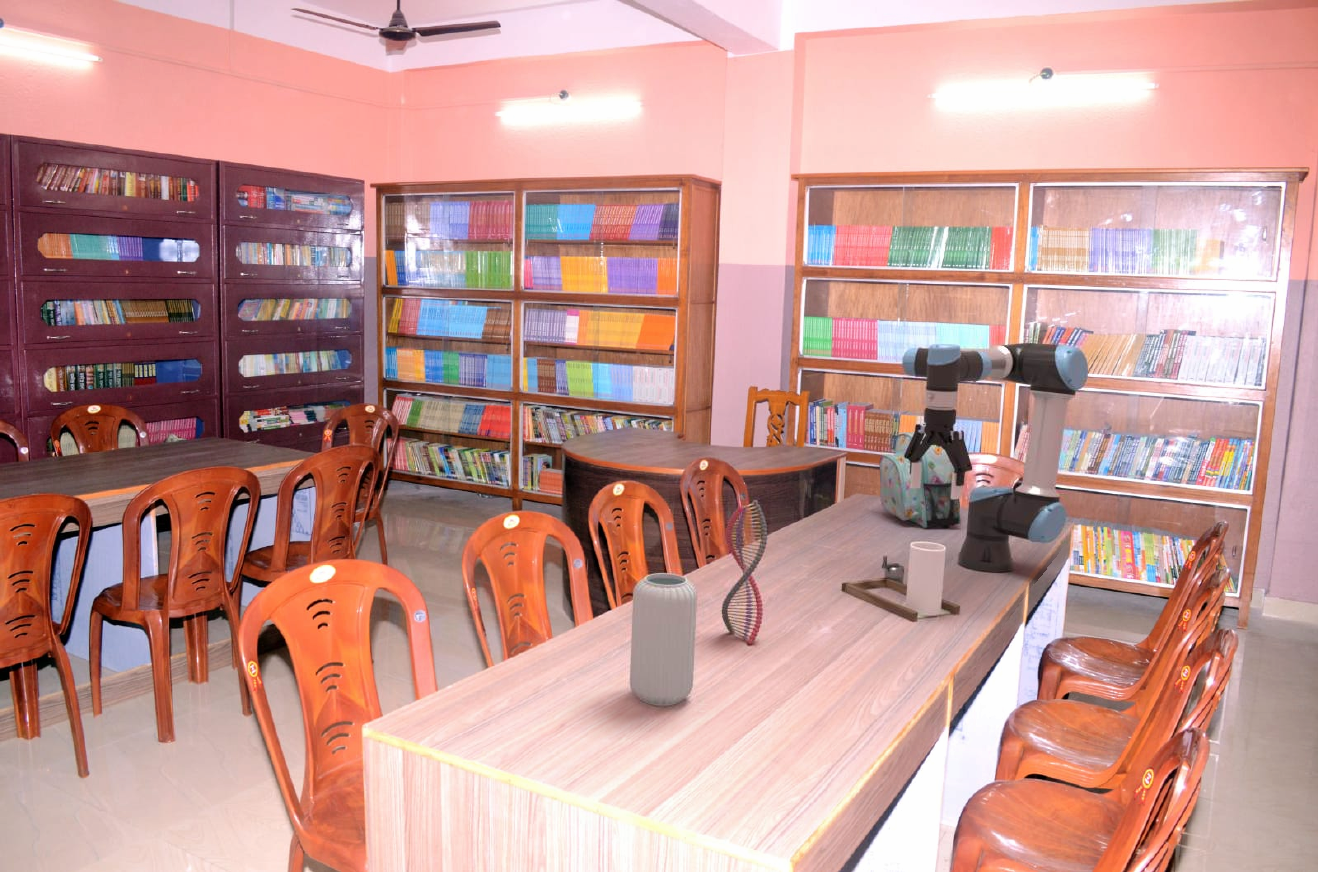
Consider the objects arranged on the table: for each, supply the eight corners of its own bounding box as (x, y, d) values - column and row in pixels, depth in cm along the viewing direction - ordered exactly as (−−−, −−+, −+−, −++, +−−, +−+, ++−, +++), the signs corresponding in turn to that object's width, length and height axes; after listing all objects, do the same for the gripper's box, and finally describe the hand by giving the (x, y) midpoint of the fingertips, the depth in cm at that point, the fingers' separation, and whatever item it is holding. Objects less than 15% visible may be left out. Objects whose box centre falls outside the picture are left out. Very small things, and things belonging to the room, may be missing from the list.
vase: (700, 707, 172) (706, 586, 169) (638, 712, 169) (643, 589, 166) (681, 682, 183) (686, 569, 180) (622, 687, 180) (626, 571, 177)
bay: (886, 584, 255) (886, 577, 255) (959, 613, 233) (960, 605, 232) (841, 590, 248) (842, 582, 248) (912, 621, 226) (913, 613, 225)
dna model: (734, 648, 203) (741, 508, 199) (712, 634, 211) (719, 499, 207) (769, 642, 207) (777, 505, 203) (747, 629, 215) (754, 497, 211)
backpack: (868, 512, 348) (874, 423, 343) (933, 513, 350) (941, 425, 346) (895, 530, 320) (903, 434, 315) (966, 531, 323) (975, 436, 318)
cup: (941, 617, 228) (947, 551, 226) (906, 613, 230) (911, 548, 228) (939, 606, 236) (944, 543, 234) (904, 603, 238) (909, 540, 236)
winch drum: (894, 581, 259) (896, 551, 257) (907, 586, 254) (909, 556, 253) (875, 583, 255) (877, 553, 254) (888, 589, 251) (890, 558, 250)
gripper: (893, 402, 244) (888, 485, 247) (968, 414, 223) (962, 504, 226) (915, 401, 248) (910, 482, 251) (991, 413, 226) (985, 501, 229)
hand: (935, 493), depth 238 cm, fingers open, 13 cm apart
